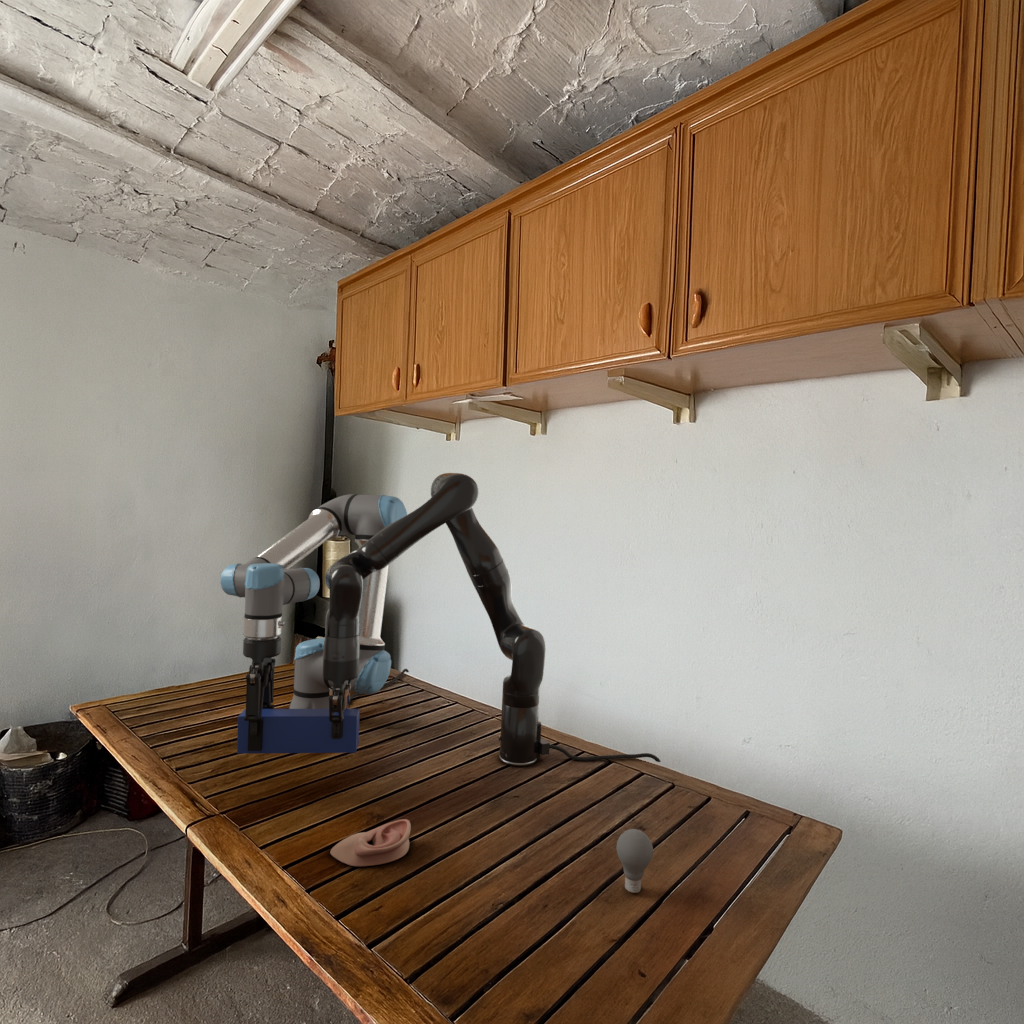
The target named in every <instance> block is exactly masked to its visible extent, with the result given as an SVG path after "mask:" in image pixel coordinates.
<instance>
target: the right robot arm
mask: <svg viewBox="0 0 1024 1024" xmlns="http://www.w3.org/2000/svg"><path fill="white" fill-rule="evenodd" d="M430 496H431V497H430V498H429V499H428V500H427V501H426V502H424V503H423V504H422V505H420V506H419V507H418V508H416V509H414V510H413V511H412V512H410V513H407V515H406V516H404V517H402V518H401V519H399V520H397V521H395V522H393V523H391V524H390V525H388V526H387V527H385V528H384V529H382V530H381V531H380V532H378V533H377V534H376V535H374V536H373V537H372V538H371V539H369V541H367V542H365V543H364V544H363V545H362V546H361V547H359V546H358V547H357V548H356V549H354V550H353V551H351V552H349V553H347V554H346V555H344V556H343V557H341V558H340V559H338V560H337V561H335V562H334V563H333V564H331V565H330V567H328V569H327V570H326V573H325V576H324V582H325V585H326V587H327V589H329V596H328V597H329V598H328V599H329V601H328V610H327V611H326V615H325V626H324V627H325V629H324V634H325V635H324V637H325V641H324V649H323V678H324V679H326V680H330V681H332V682H333V684H332V688H330V692H329V695H330V696H329V721H330V722H332V732H331V738H332V739H341V738H342V734H343V720H344V710H346V709H349V706H350V703H351V700H350V696H351V692H350V690H351V684H350V682H351V680H353V679H355V678H357V677H358V675H359V648H360V644H359V610H360V605H361V599H362V592H363V579H365V578H366V577H367V576H369V575H370V574H371V573H373V572H376V571H380V570H382V569H383V568H385V567H386V566H388V565H389V566H390V564H391V563H393V562H394V561H396V560H397V559H398V558H400V556H402V555H403V554H404V553H405V552H406V551H408V550H409V549H410V548H412V547H413V546H414V545H415V544H417V543H418V542H419V541H421V540H422V539H424V538H425V537H426V536H428V535H429V534H430V533H432V532H434V531H435V530H437V529H438V528H440V527H441V526H443V525H446V526H447V529H448V530H449V532H450V534H451V536H452V538H453V541H454V543H455V546H456V549H457V551H458V554H459V555H460V557H461V560H462V562H463V564H464V567H465V569H466V572H467V574H468V577H469V579H470V581H471V583H472V585H473V587H474V589H475V591H476V594H477V595H478V597H479V599H480V602H481V604H482V606H483V608H484V610H485V612H486V614H487V615H488V618H489V620H490V624H491V627H492V629H493V632H494V635H495V638H496V642H497V644H498V647H499V649H500V652H502V654H503V655H504V657H505V658H507V659H509V660H511V664H512V665H511V670H510V671H511V672H510V674H509V675H507V676H505V677H504V678H503V680H502V692H501V693H502V694H501V695H502V696H501V718H500V720H501V721H500V736H499V737H498V742H499V754H498V755H499V756H498V759H499V761H500V762H502V763H503V764H505V765H508V766H511V767H527V766H528V767H529V766H531V765H534V764H536V762H539V761H541V756H546V755H550V749H552V750H555V751H558V752H561V753H562V754H564V755H565V756H566V757H567V758H568V759H570V760H573V761H578V762H591V761H601V760H604V761H605V760H620V759H643V758H650V759H652V760H654V761H655V762H657V763H661V762H662V761H661V759H660V758H659V757H657V756H656V755H655V754H653V753H648V752H644V753H643V752H641V753H636V754H635V753H629V754H628V753H626V754H625V753H624V754H611V755H610V754H607V755H592V756H577V755H573V754H571V753H570V752H568V751H567V750H566V749H565V748H563V747H561V746H559V745H555V744H551V743H550V742H549V741H548V740H546V739H545V738H544V737H542V722H541V721H540V720H539V717H540V716H539V714H540V713H539V712H540V711H539V710H540V690H541V685H542V682H543V680H544V675H545V666H546V656H547V655H546V653H547V643H546V640H545V637H544V635H543V633H542V632H541V631H540V630H538V629H536V628H533V627H530V626H527V625H526V624H525V623H524V621H523V620H522V619H521V617H520V614H519V613H518V611H517V608H516V606H515V604H514V601H513V585H512V577H511V574H510V571H509V568H508V566H507V564H506V561H505V559H504V556H503V555H502V553H501V551H500V549H499V548H498V546H497V545H496V543H495V542H494V541H493V539H492V538H491V536H490V535H489V534H488V533H487V531H486V530H485V529H484V528H483V526H482V525H481V524H480V522H479V520H478V518H477V516H476V514H475V512H474V509H473V507H474V506H475V504H476V503H477V501H478V499H479V498H478V497H479V487H478V483H477V482H476V480H475V479H474V478H472V477H471V476H469V475H468V474H464V473H459V472H445V473H442V474H439V475H438V476H436V477H435V478H434V480H433V481H432V483H431V486H430ZM349 701H350V702H349ZM334 712H338V713H339V716H334Z"/></svg>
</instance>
